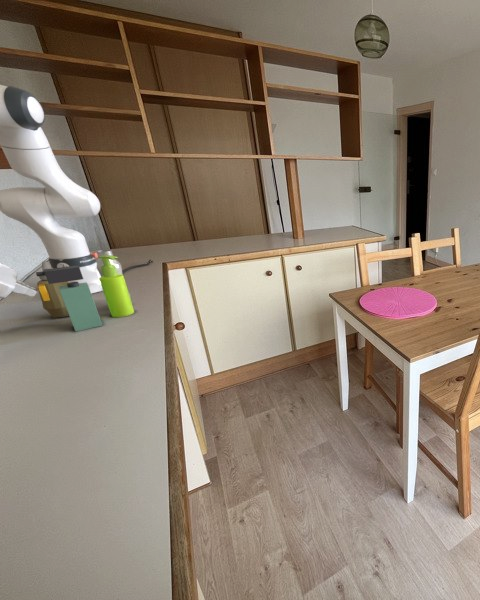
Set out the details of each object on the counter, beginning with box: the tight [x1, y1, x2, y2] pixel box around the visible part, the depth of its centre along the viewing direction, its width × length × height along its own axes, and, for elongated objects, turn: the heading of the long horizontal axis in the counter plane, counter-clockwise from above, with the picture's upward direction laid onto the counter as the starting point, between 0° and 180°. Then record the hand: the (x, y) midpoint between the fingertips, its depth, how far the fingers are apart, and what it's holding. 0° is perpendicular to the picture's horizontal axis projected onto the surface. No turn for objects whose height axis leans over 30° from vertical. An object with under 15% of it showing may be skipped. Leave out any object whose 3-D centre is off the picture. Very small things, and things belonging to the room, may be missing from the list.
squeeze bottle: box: [36, 260, 70, 318], centre depth 100 cm, size 8×8×18 cm
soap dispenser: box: [97, 255, 135, 318], centre depth 102 cm, size 6×7×20 cm
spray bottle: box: [35, 265, 103, 332], centre depth 92 cm, size 9×5×19 cm, turn 137°
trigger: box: [37, 284, 50, 301], centre depth 88 cm, size 1×3×4 cm, turn 47°
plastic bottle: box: [96, 249, 133, 303], centre depth 108 cm, size 6×7×20 cm
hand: (35, 293), depth 87 cm, fingers closed
